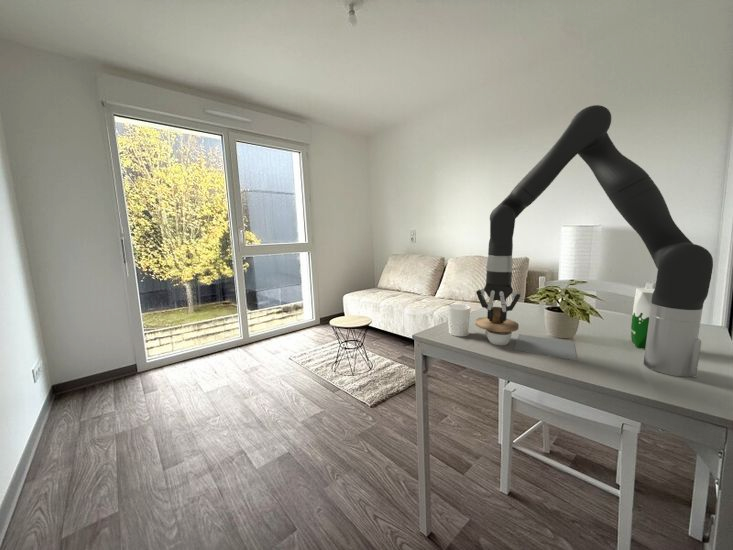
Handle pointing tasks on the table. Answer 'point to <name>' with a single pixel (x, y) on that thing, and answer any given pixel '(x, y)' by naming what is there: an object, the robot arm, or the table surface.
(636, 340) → the milk carton
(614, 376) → the table surface
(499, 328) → the lid
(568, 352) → the mat
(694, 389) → the table surface
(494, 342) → the white bowl
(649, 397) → the table surface
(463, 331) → the white cup
